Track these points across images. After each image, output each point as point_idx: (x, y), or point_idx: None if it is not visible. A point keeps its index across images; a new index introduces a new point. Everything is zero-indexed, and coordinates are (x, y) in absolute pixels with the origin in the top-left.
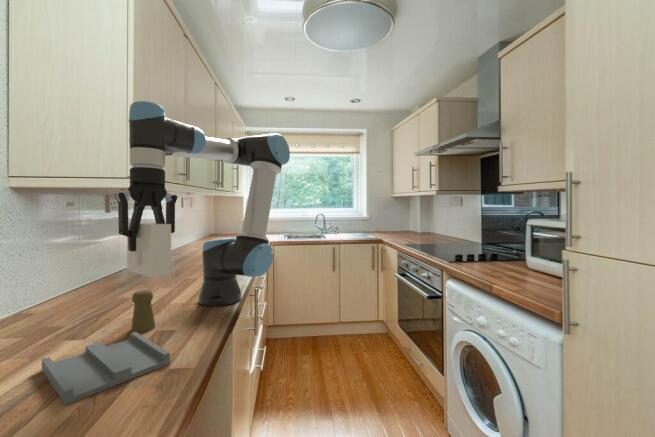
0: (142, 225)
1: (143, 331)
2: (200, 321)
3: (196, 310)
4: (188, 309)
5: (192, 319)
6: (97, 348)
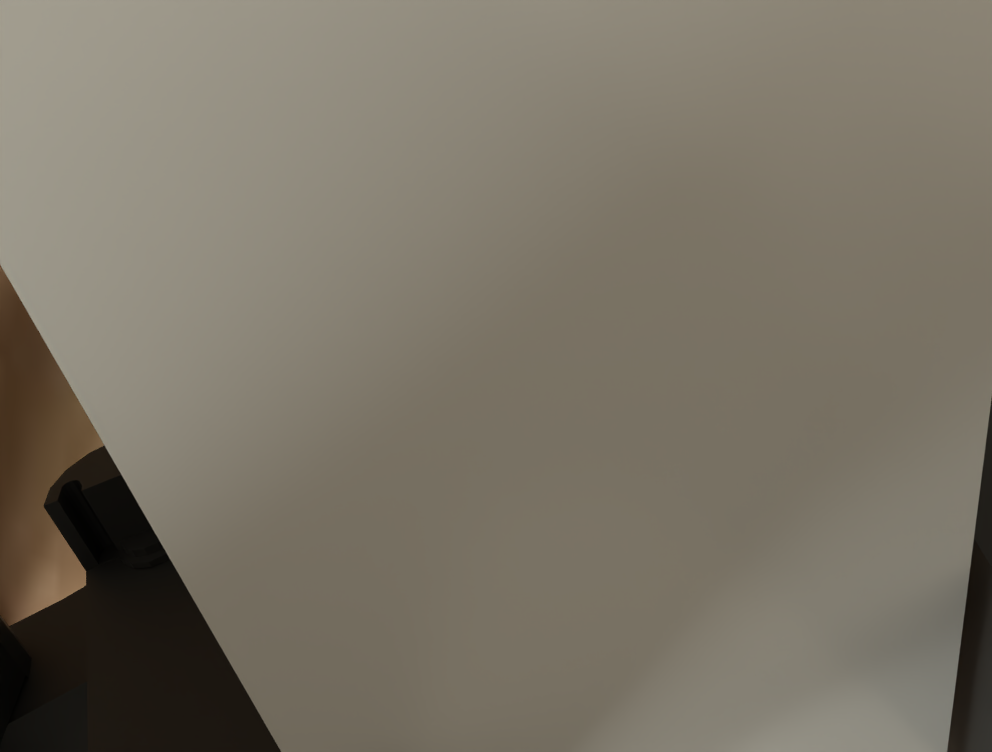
0: (958, 371)
1: None
2: (10, 331)
3: (28, 545)
4: (83, 584)
5: (66, 397)
6: None
